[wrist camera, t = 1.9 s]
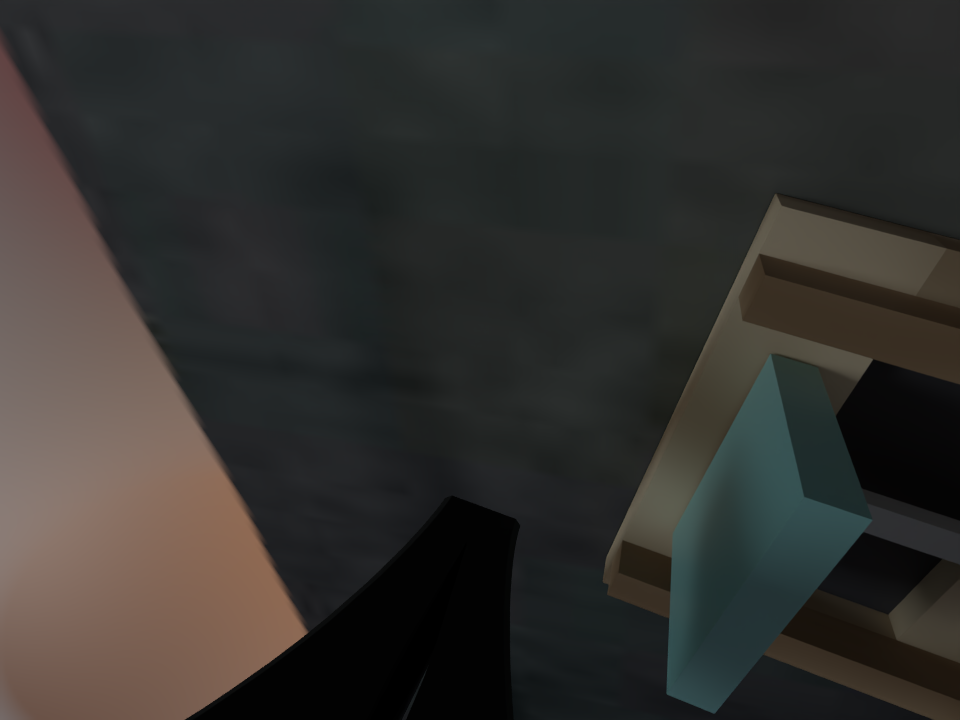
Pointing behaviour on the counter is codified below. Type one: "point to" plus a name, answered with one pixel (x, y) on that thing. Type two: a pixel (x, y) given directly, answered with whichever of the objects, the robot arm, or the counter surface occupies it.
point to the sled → (772, 531)
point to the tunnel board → (864, 426)
